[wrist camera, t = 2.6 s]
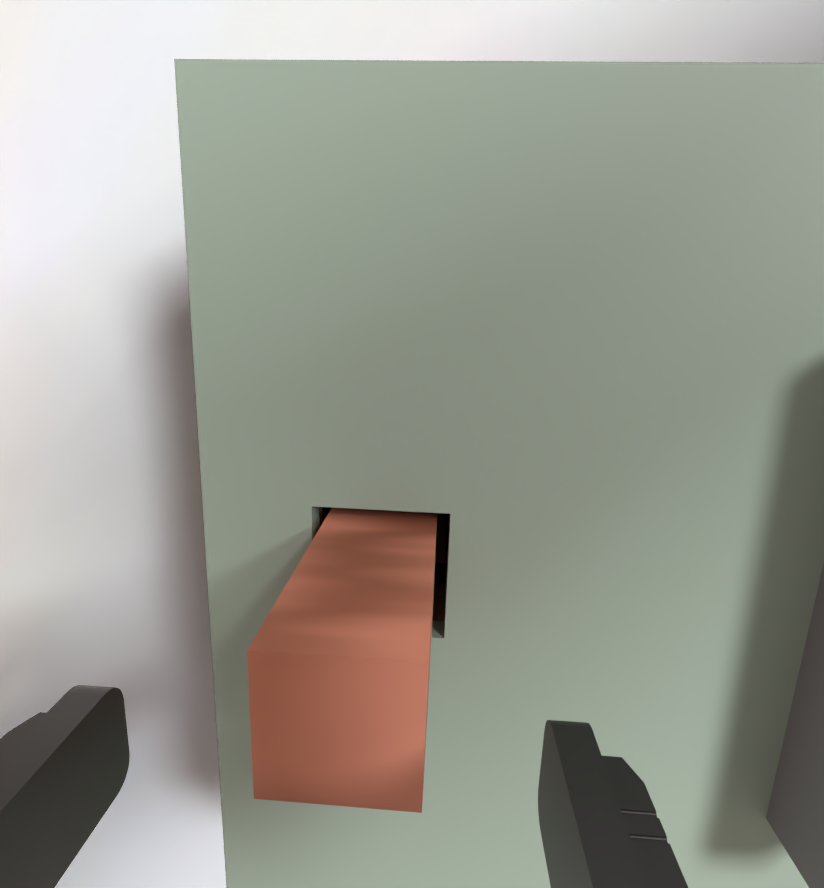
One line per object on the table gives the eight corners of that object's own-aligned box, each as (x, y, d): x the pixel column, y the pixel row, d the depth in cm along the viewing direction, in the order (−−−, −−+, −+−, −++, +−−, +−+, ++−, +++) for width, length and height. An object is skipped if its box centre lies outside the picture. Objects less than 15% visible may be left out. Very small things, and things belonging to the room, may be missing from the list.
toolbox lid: (1006, 81, 14) (1224, -8, 10) (790, 930, 20) (870, 1075, 17) (192, 75, 15) (102, -7, 11) (237, 879, 22) (191, 1003, 18)
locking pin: (439, 474, 22) (428, 662, 10) (436, 553, 23) (422, 812, 11) (354, 470, 22) (246, 650, 10) (353, 549, 23) (253, 798, 11)
